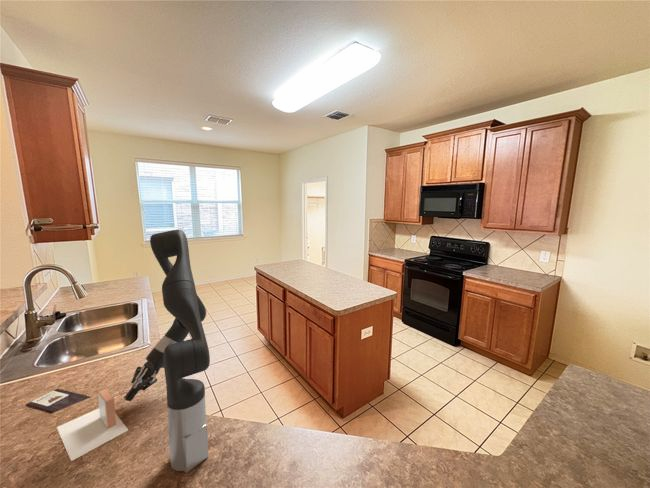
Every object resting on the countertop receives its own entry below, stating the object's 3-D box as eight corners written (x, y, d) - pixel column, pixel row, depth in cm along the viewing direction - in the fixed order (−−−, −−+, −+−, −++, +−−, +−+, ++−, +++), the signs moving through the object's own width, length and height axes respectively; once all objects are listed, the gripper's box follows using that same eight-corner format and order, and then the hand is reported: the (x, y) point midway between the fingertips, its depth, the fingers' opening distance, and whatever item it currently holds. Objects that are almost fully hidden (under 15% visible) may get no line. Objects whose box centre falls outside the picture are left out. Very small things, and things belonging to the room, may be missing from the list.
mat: (128, 432, 81) (128, 430, 81) (71, 463, 70) (71, 461, 70) (108, 406, 93) (108, 404, 92) (56, 429, 82) (56, 427, 82)
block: (116, 424, 83) (114, 397, 82) (107, 428, 81) (105, 401, 81) (108, 413, 88) (106, 388, 87) (99, 417, 86) (97, 392, 85)
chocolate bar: (60, 413, 88) (26, 404, 93) (60, 416, 88) (26, 406, 93) (90, 396, 97) (57, 388, 102) (90, 399, 97) (57, 390, 102)
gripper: (148, 342, 99) (110, 389, 90) (163, 352, 91) (123, 405, 82) (164, 350, 104) (129, 395, 95) (179, 360, 96) (144, 410, 87)
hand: (127, 399), depth 89 cm, fingers closed
